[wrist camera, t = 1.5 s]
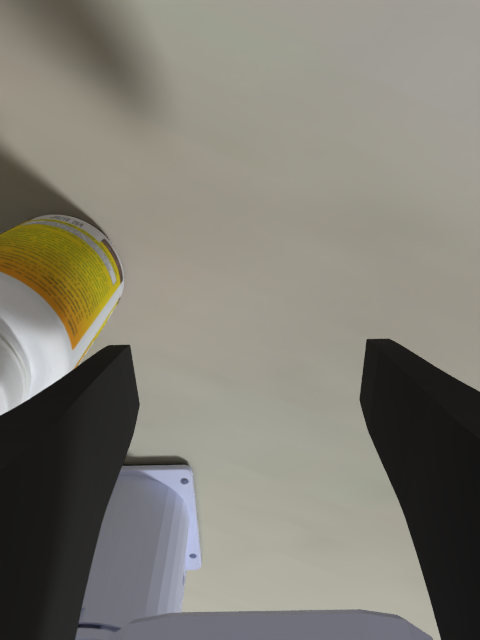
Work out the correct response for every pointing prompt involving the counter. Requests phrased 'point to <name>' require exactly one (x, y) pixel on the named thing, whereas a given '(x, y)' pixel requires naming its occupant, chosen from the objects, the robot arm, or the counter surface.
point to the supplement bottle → (52, 301)
